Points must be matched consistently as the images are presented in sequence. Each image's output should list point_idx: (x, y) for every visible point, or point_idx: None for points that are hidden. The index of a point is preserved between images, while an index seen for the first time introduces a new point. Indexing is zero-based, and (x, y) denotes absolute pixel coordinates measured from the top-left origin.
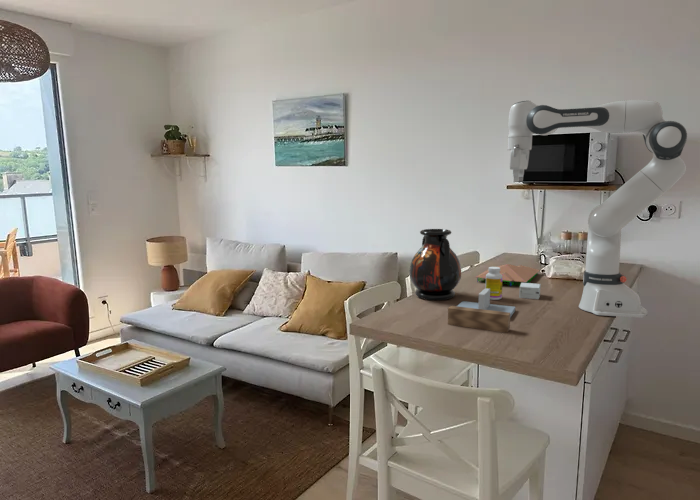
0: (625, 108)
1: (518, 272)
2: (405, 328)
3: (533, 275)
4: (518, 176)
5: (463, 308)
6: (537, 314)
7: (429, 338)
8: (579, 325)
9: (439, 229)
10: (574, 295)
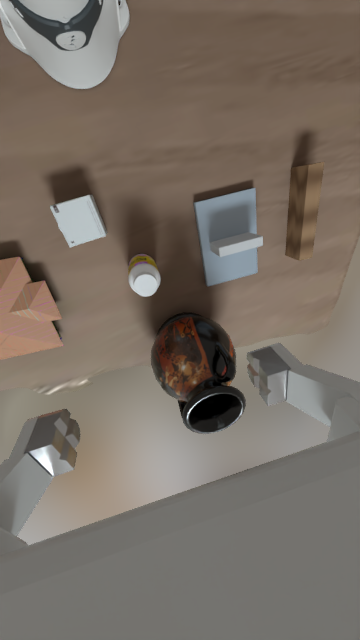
0: None
1: None
2: (325, 281)
3: None
4: (315, 367)
5: (307, 239)
6: (194, 157)
7: (350, 241)
8: (223, 48)
9: (189, 421)
10: None
